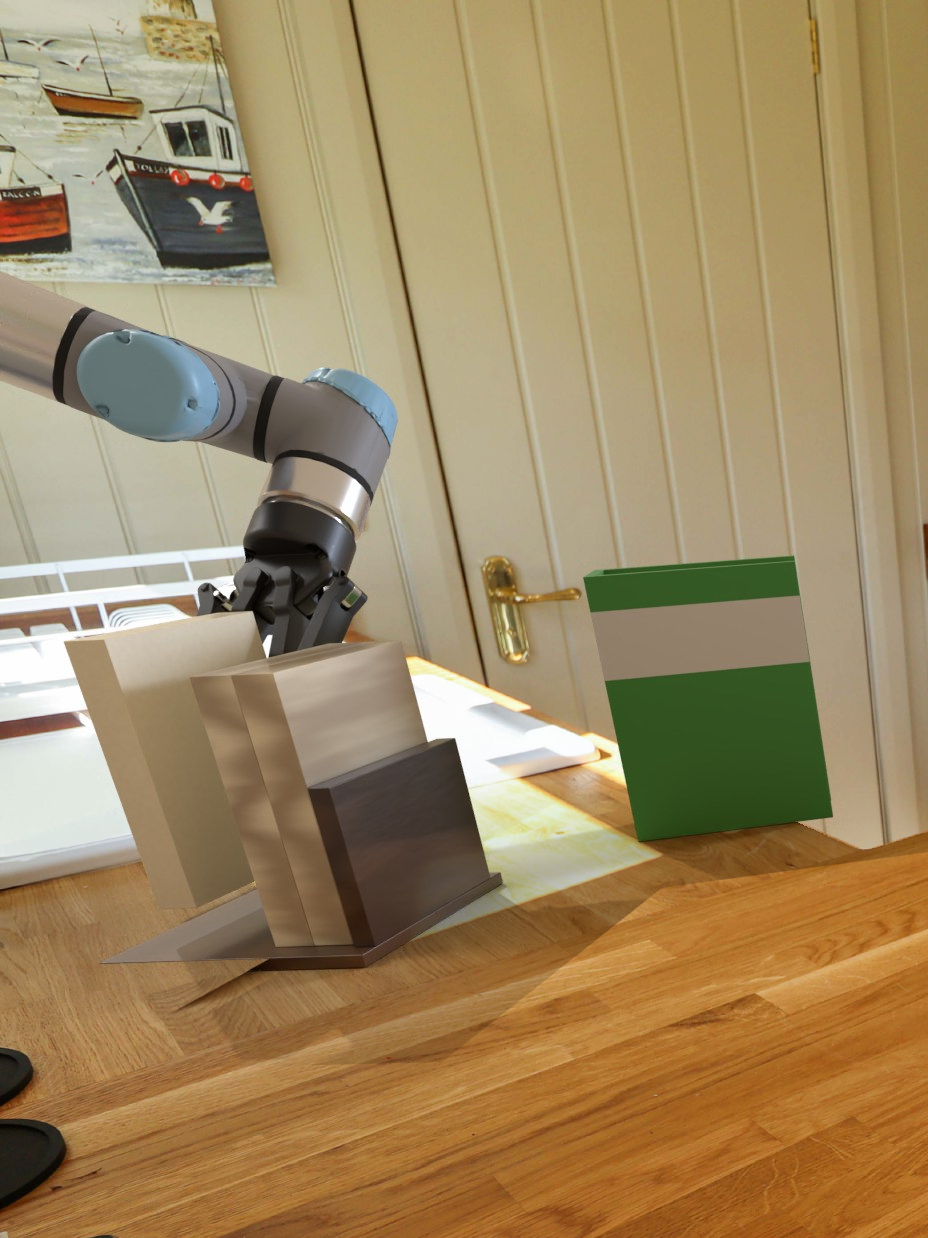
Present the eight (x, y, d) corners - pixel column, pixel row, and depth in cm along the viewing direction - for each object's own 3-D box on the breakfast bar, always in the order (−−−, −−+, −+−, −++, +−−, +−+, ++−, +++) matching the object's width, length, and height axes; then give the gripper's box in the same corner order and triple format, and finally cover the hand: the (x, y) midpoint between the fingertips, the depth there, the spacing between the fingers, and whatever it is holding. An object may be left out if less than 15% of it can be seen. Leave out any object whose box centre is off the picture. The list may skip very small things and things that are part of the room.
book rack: (102, 975, 92) (-5, 689, 85) (279, 890, 109) (202, 645, 102) (365, 967, 91) (279, 677, 84) (503, 882, 108) (441, 634, 101)
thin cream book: (158, 909, 95) (62, 641, 88) (291, 850, 108) (217, 612, 101) (196, 908, 94) (103, 639, 88) (324, 848, 108) (252, 610, 101)
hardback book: (831, 798, 128) (794, 555, 120) (833, 817, 122) (794, 561, 113) (646, 820, 124) (594, 569, 116) (638, 841, 117) (583, 577, 109)
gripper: (424, 551, 112) (351, 783, 102) (250, 560, 113) (162, 790, 103) (368, 491, 105) (285, 733, 95) (184, 501, 106) (83, 742, 96)
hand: (221, 762), depth 99 cm, fingers closed on thin cream book, 3 cm apart
